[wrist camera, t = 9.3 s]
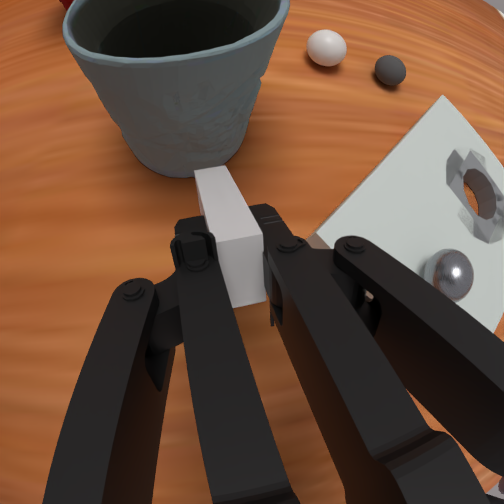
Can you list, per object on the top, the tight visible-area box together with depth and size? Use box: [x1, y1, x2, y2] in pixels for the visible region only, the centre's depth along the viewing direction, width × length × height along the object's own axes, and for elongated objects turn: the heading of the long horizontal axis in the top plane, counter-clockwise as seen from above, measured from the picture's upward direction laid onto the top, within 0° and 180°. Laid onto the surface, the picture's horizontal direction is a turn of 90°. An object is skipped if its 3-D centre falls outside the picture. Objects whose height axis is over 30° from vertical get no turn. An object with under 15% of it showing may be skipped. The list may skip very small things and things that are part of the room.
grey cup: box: [63, 0, 290, 178], centre depth 16 cm, size 10×10×12 cm
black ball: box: [375, 55, 406, 85], centre depth 24 cm, size 3×3×3 cm
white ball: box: [306, 30, 347, 66], centre depth 23 cm, size 4×4×4 cm
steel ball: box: [423, 249, 474, 303], centre depth 17 cm, size 4×4×4 cm
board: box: [306, 95, 504, 333], centre depth 22 cm, size 20×16×2 cm
